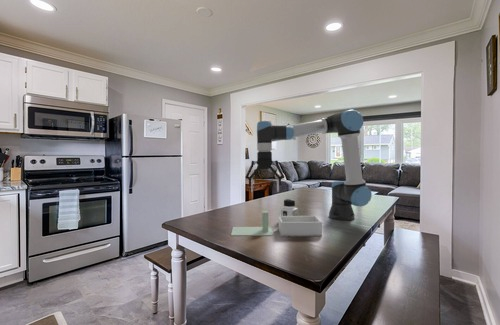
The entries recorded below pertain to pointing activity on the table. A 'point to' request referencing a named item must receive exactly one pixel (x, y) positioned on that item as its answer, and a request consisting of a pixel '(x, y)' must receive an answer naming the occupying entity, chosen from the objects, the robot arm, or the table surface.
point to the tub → (300, 226)
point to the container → (289, 208)
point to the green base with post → (254, 228)
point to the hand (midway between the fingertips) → (264, 191)
